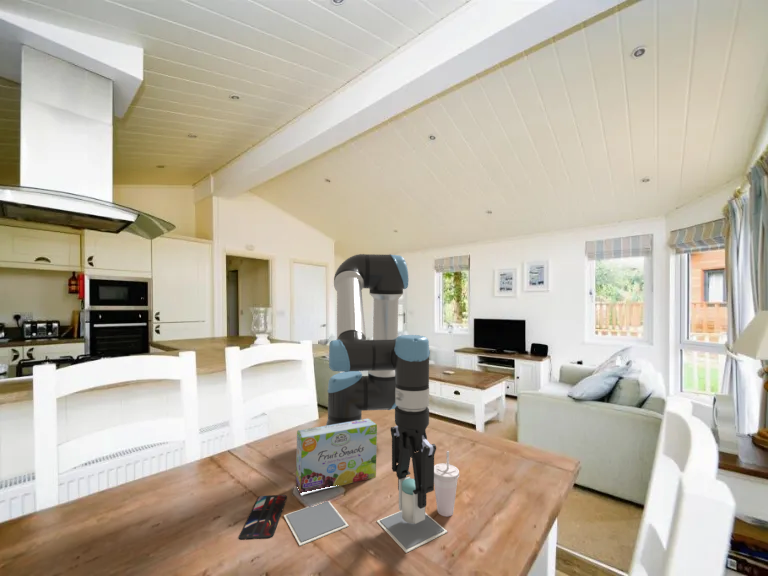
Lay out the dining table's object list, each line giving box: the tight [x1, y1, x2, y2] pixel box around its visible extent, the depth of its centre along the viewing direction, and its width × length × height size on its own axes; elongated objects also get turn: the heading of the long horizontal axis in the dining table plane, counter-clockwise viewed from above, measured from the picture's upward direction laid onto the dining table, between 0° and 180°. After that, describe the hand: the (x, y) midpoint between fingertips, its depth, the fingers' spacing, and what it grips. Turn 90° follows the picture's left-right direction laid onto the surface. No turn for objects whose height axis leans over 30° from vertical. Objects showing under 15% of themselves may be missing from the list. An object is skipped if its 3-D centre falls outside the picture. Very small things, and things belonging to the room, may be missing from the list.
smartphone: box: [238, 494, 288, 541], centre depth 78 cm, size 7×1×15 cm
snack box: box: [295, 418, 378, 494], centre depth 92 cm, size 21×6×15 cm, turn 117°
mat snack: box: [283, 500, 349, 547], centre depth 76 cm, size 11×11×1 cm
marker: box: [402, 478, 416, 523], centre depth 75 cm, size 4×4×7 cm
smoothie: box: [434, 450, 460, 517], centre depth 80 cm, size 6×6×14 cm
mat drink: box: [376, 510, 448, 554], centre depth 74 cm, size 11×11×1 cm
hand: (411, 513), depth 74 cm, fingers closed on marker, 4 cm apart
